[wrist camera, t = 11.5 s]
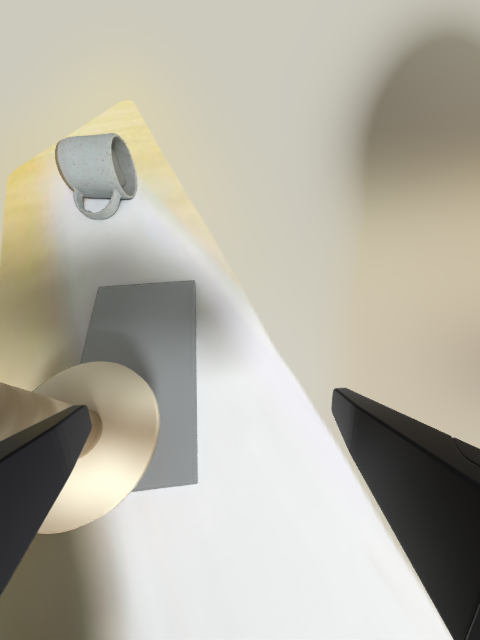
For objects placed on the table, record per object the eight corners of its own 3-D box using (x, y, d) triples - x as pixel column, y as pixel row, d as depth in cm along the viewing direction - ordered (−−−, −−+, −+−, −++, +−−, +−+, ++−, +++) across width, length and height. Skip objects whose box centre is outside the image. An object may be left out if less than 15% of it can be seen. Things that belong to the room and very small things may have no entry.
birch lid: (158, 511, 14) (36, 601, 6) (-20, 544, 13) (-491, 711, 5) (161, 358, 19) (99, 278, 10) (31, 374, 18) (-153, 303, 10)
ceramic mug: (90, 179, 38) (59, 122, 32) (141, 179, 39) (121, 122, 32) (70, 223, 33) (28, 166, 27) (127, 223, 34) (100, 167, 27)
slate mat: (197, 482, 19) (196, 483, 18) (52, 501, 18) (47, 502, 17) (195, 283, 28) (194, 280, 28) (101, 290, 28) (98, 287, 27)
